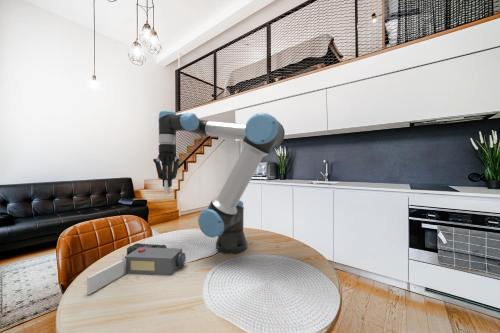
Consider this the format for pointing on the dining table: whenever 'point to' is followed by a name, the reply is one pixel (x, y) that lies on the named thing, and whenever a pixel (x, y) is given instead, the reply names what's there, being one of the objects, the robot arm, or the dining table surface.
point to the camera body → (154, 261)
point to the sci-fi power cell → (138, 245)
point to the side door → (106, 276)
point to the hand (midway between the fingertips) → (167, 193)
